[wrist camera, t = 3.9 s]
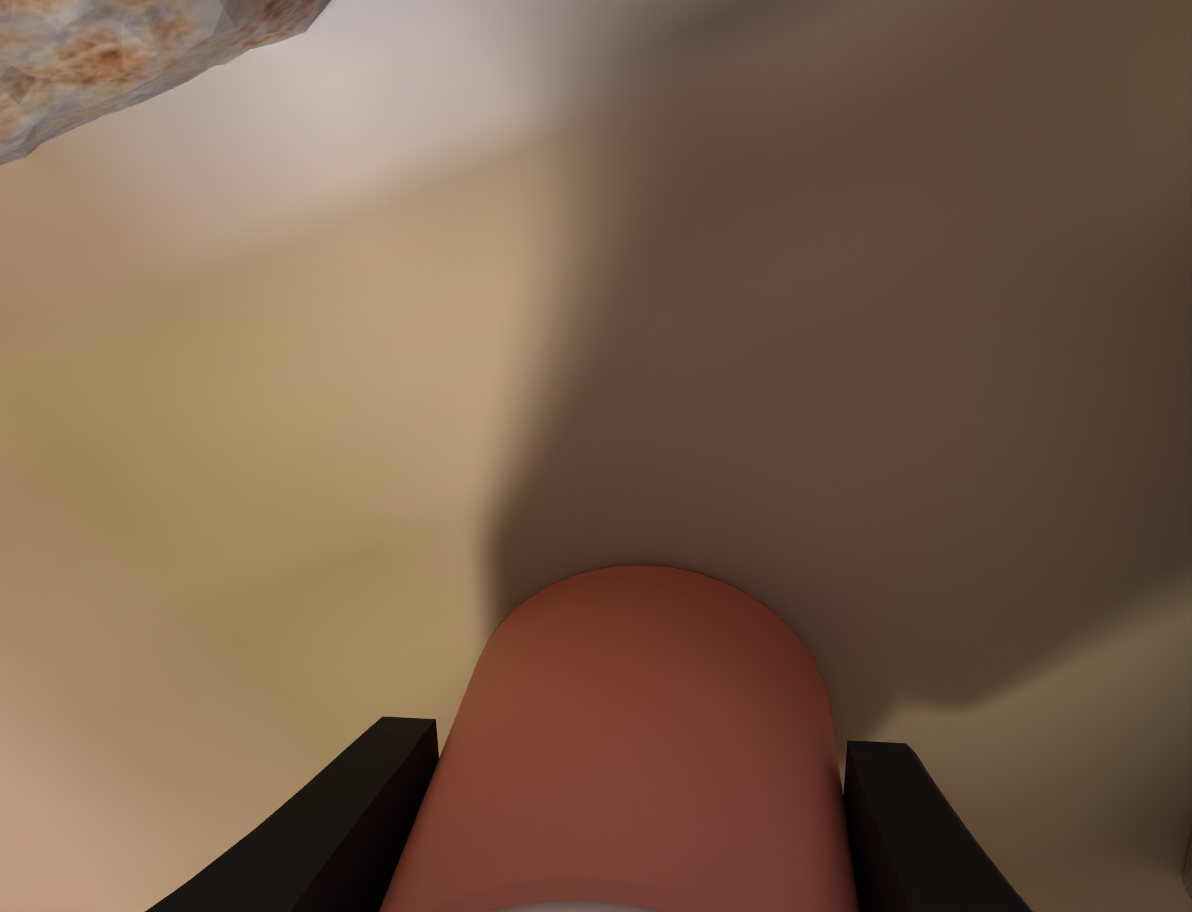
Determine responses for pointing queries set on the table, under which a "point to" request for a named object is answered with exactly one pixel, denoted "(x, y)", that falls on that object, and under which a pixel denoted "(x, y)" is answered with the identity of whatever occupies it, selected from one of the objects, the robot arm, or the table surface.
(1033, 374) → the table surface
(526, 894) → the can
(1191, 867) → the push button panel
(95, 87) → the stone
